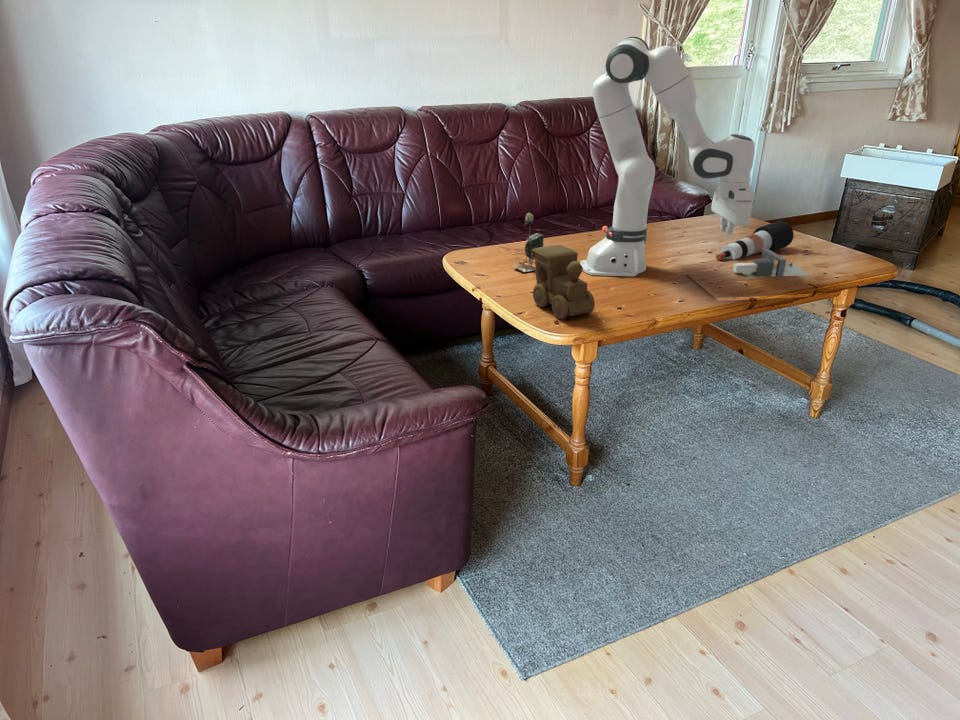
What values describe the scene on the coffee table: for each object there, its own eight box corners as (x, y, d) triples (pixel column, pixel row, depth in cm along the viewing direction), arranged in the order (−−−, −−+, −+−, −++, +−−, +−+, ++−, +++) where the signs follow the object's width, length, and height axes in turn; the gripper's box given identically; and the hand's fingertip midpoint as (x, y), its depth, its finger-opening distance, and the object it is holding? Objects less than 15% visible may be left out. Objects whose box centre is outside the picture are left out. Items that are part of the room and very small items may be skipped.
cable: (711, 273, 240) (703, 246, 239) (774, 249, 254) (766, 224, 253) (732, 268, 231) (724, 240, 230) (796, 243, 245) (789, 217, 244)
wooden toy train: (527, 301, 203) (529, 248, 196) (559, 295, 208) (561, 243, 201) (564, 324, 187) (567, 267, 180) (597, 317, 192) (602, 261, 185)
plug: (736, 275, 221) (738, 264, 219) (731, 271, 225) (733, 260, 223) (771, 274, 222) (773, 262, 221) (765, 270, 226) (767, 259, 224)
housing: (747, 280, 220) (751, 260, 217) (731, 268, 231) (734, 250, 228) (811, 277, 222) (815, 258, 219) (792, 266, 233) (796, 247, 230)
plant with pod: (549, 269, 230) (552, 211, 221) (520, 274, 226) (522, 215, 217) (537, 263, 237) (539, 206, 228) (509, 267, 232) (510, 209, 224)
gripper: (709, 182, 219) (703, 224, 225) (738, 196, 201) (730, 241, 207) (728, 182, 220) (721, 223, 226) (758, 196, 202) (750, 241, 208)
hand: (726, 232), depth 216 cm, fingers open, 2 cm apart
